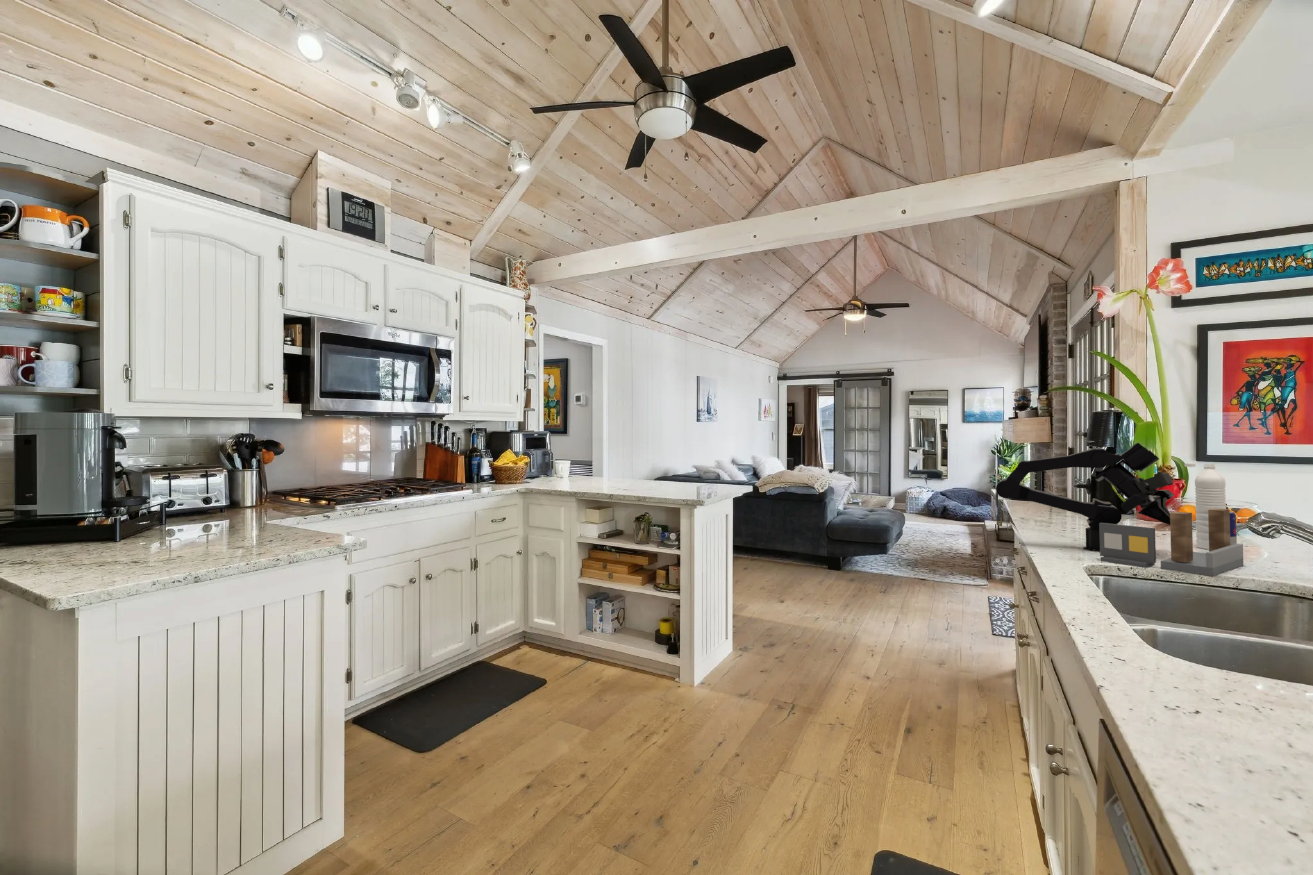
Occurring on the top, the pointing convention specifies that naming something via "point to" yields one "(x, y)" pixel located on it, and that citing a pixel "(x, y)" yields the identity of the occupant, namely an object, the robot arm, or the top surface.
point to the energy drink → (1233, 528)
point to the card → (1127, 545)
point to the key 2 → (1219, 528)
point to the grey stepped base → (1209, 561)
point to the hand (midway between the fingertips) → (1174, 524)
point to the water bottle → (1207, 500)
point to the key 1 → (1181, 536)
